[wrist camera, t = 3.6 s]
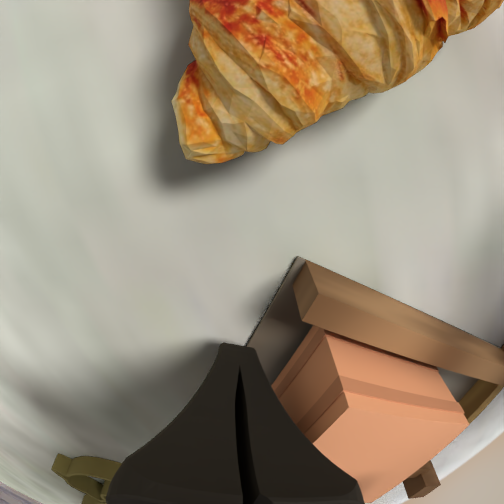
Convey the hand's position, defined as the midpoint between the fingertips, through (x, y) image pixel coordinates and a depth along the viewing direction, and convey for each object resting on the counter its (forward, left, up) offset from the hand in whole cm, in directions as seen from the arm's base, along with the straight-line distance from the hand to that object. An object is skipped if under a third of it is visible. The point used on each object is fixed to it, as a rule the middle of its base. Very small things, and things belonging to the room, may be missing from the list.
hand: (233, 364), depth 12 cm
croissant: (+3, -17, -2) cm, 17 cm away
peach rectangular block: (-5, 0, 0) cm, 5 cm away
